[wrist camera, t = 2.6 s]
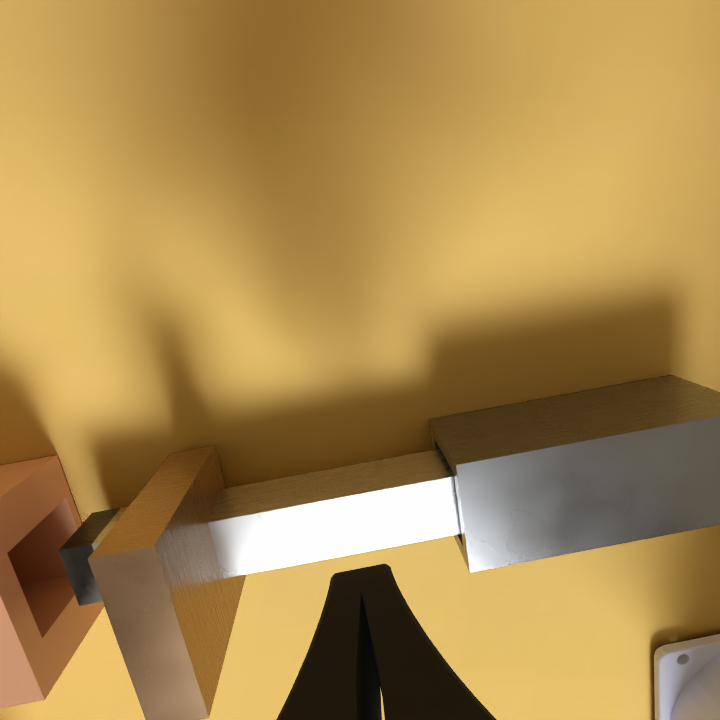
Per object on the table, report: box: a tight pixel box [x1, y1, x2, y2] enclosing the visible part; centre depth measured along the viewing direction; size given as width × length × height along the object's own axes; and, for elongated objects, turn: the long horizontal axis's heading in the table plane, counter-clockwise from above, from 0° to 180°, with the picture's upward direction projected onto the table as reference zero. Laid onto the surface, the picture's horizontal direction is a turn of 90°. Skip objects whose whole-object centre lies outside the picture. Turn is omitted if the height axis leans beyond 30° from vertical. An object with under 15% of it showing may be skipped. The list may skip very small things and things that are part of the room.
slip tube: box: [58, 446, 461, 720], centre depth 14 cm, size 19×5×6 cm, turn 100°
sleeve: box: [429, 375, 720, 572], centre depth 15 cm, size 9×4×4 cm, turn 100°
